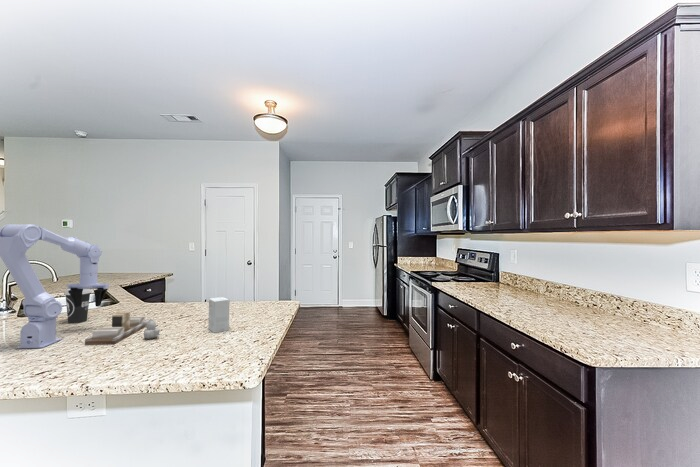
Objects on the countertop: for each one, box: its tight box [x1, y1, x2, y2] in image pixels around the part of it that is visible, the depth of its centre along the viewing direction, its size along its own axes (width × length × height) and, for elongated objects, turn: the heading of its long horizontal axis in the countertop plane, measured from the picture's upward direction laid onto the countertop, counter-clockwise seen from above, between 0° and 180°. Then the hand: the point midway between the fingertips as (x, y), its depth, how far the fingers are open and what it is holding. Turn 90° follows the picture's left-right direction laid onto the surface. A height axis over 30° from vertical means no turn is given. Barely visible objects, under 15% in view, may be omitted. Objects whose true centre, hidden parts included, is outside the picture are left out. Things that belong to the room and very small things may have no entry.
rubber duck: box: [143, 317, 161, 340], centre depth 124 cm, size 5×7×8 cm
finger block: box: [111, 311, 131, 331], centre depth 129 cm, size 6×4×7 cm
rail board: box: [84, 315, 150, 346], centre depth 129 cm, size 26×10×4 cm, turn 7°
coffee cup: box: [63, 288, 92, 324], centre depth 146 cm, size 10×10×15 cm
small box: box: [207, 296, 230, 333], centre depth 137 cm, size 8×6×13 cm
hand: (88, 306), depth 133 cm, fingers open, 7 cm apart
